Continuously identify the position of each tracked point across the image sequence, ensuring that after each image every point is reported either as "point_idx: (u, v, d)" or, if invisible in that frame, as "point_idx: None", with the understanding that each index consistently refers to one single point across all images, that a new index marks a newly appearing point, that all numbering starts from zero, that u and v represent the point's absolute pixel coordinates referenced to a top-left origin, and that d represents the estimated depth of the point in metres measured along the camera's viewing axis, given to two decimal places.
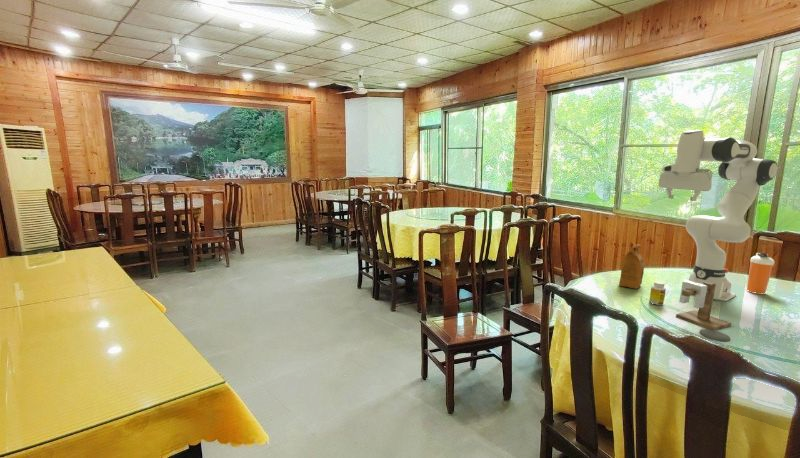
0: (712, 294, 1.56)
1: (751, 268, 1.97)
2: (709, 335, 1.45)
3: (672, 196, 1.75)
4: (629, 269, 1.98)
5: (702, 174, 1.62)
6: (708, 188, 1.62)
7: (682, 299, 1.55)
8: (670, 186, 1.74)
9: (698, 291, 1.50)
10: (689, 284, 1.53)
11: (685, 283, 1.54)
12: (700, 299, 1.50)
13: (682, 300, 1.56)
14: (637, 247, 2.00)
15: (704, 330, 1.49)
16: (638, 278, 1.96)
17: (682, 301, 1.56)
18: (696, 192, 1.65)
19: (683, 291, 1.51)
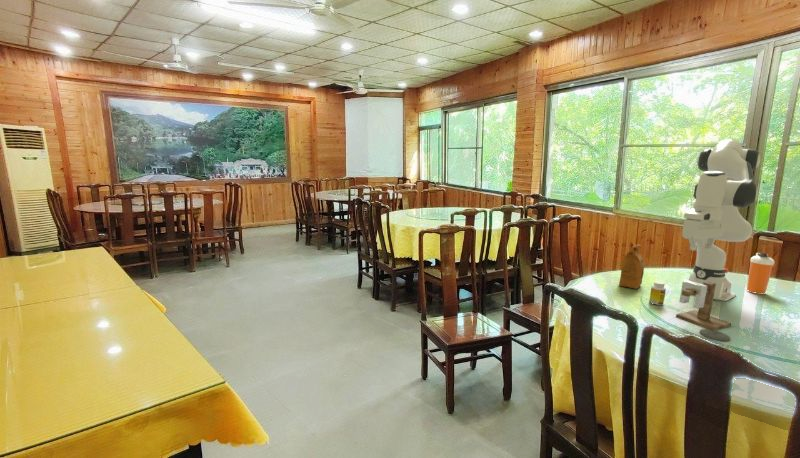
0: (712, 294, 1.56)
1: (751, 268, 1.97)
2: (709, 335, 1.45)
3: None
4: (629, 269, 1.98)
5: (722, 220, 1.50)
6: None
7: (682, 299, 1.55)
8: (701, 236, 1.46)
9: (698, 291, 1.50)
10: (689, 284, 1.53)
11: (685, 283, 1.54)
12: (700, 299, 1.50)
13: (682, 300, 1.56)
14: (637, 247, 2.00)
15: (704, 330, 1.49)
16: (638, 278, 1.96)
17: (682, 301, 1.56)
18: (714, 239, 1.51)
19: (683, 291, 1.51)
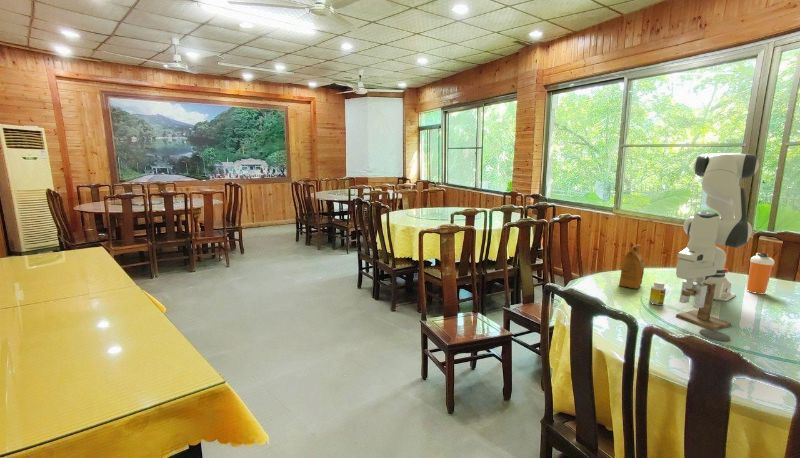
0: (712, 294, 1.56)
1: (751, 268, 1.97)
2: (709, 335, 1.45)
3: None
4: (629, 269, 1.98)
5: (715, 258, 1.52)
6: None
7: (682, 299, 1.55)
8: (694, 276, 1.49)
9: (698, 291, 1.50)
10: None
11: (685, 283, 1.54)
12: (700, 299, 1.50)
13: (682, 300, 1.56)
14: (637, 247, 2.00)
15: (704, 330, 1.49)
16: (638, 278, 1.96)
17: (682, 301, 1.56)
18: (704, 278, 1.53)
19: (683, 291, 1.51)
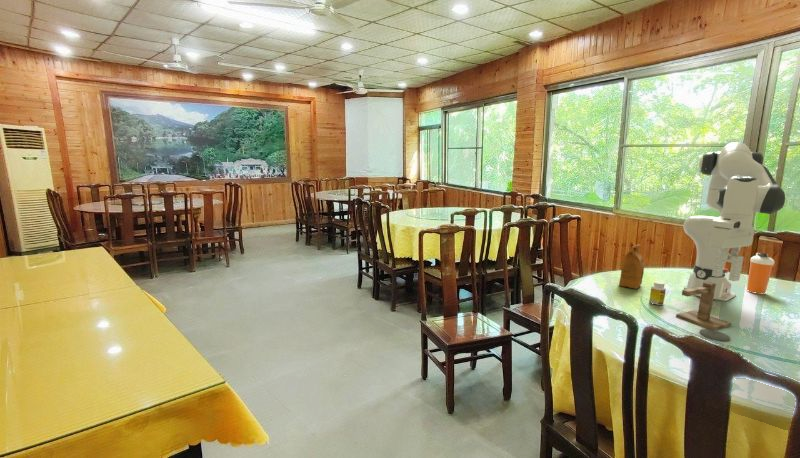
0: (712, 294, 1.56)
1: (751, 268, 1.97)
2: (709, 335, 1.45)
3: None
4: (629, 269, 1.98)
5: (752, 228, 1.40)
6: None
7: (715, 272, 1.44)
8: (730, 246, 1.37)
9: (734, 262, 1.38)
10: None
11: (718, 255, 1.42)
12: (736, 271, 1.38)
13: (715, 273, 1.44)
14: (637, 247, 2.00)
15: (704, 330, 1.49)
16: (638, 278, 1.96)
17: (715, 274, 1.44)
18: (739, 248, 1.41)
19: (683, 291, 1.51)
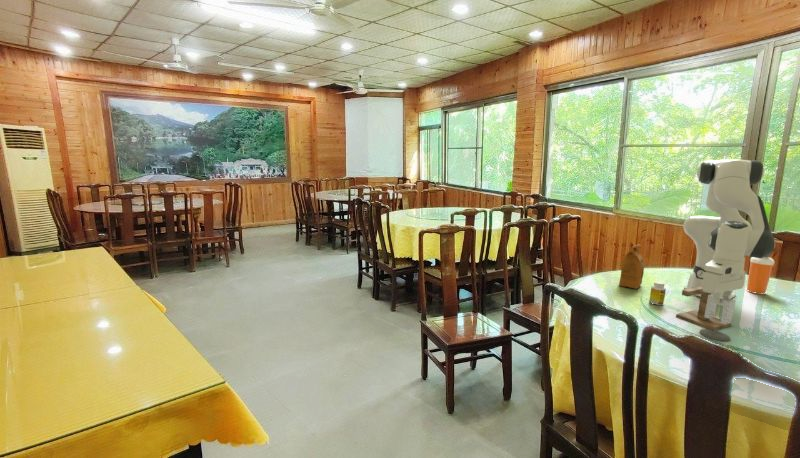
0: None
1: (751, 268, 1.97)
2: (709, 335, 1.45)
3: None
4: (629, 269, 1.98)
5: (743, 271, 1.43)
6: None
7: (707, 314, 1.46)
8: (721, 290, 1.39)
9: (725, 306, 1.41)
10: None
11: (711, 297, 1.45)
12: (728, 314, 1.41)
13: (707, 315, 1.46)
14: (637, 247, 2.00)
15: (704, 330, 1.49)
16: (638, 278, 1.96)
17: (707, 316, 1.46)
18: (731, 291, 1.44)
19: (683, 291, 1.51)
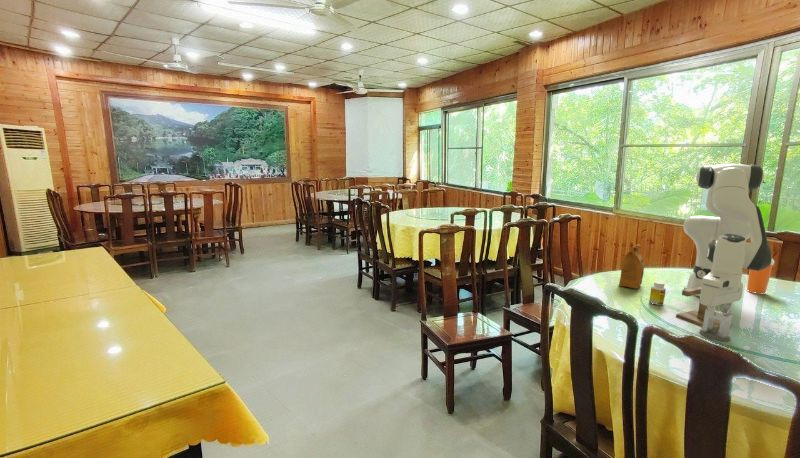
0: None
1: None
2: (709, 335, 1.45)
3: None
4: (629, 269, 1.98)
5: (741, 283, 1.44)
6: None
7: (705, 328, 1.48)
8: (719, 303, 1.40)
9: (723, 321, 1.42)
10: None
11: None
12: (725, 329, 1.42)
13: (705, 329, 1.48)
14: (637, 247, 2.00)
15: None
16: (638, 278, 1.96)
17: (705, 330, 1.48)
18: (732, 303, 1.46)
19: (683, 291, 1.51)
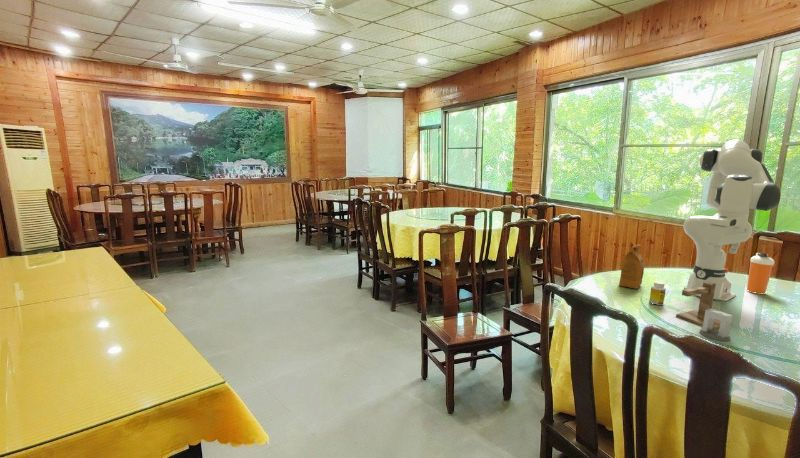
0: (712, 294, 1.56)
1: (751, 268, 1.97)
2: (709, 335, 1.45)
3: None
4: (629, 269, 1.98)
5: (747, 224, 1.46)
6: None
7: (705, 328, 1.48)
8: (726, 242, 1.42)
9: (723, 321, 1.42)
10: (713, 313, 1.45)
11: (708, 312, 1.46)
12: (725, 329, 1.42)
13: (705, 329, 1.48)
14: (637, 247, 2.00)
15: None
16: (638, 278, 1.96)
17: (705, 330, 1.48)
18: (739, 244, 1.47)
19: (683, 291, 1.51)
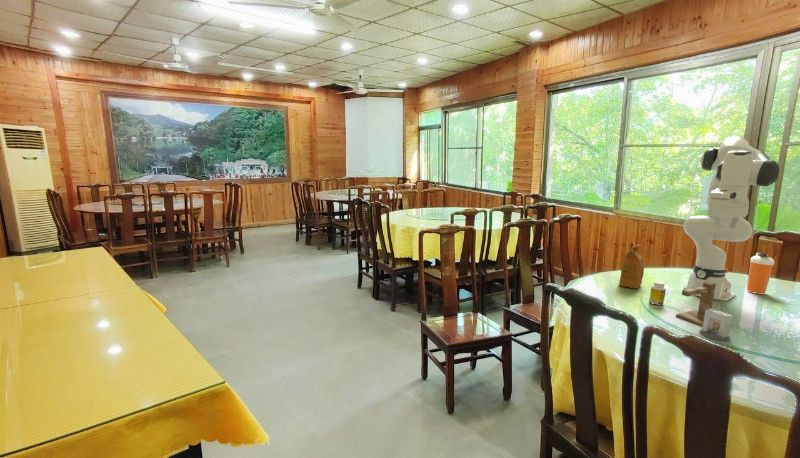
0: (712, 294, 1.56)
1: (751, 268, 1.97)
2: (709, 335, 1.45)
3: None
4: (629, 269, 1.98)
5: (747, 199, 1.50)
6: None
7: (705, 328, 1.48)
8: (726, 216, 1.46)
9: (723, 321, 1.42)
10: (713, 313, 1.45)
11: (708, 312, 1.46)
12: (725, 329, 1.42)
13: (705, 329, 1.48)
14: (637, 247, 2.00)
15: None
16: (638, 278, 1.96)
17: (705, 330, 1.48)
18: (739, 219, 1.52)
19: (683, 291, 1.51)
